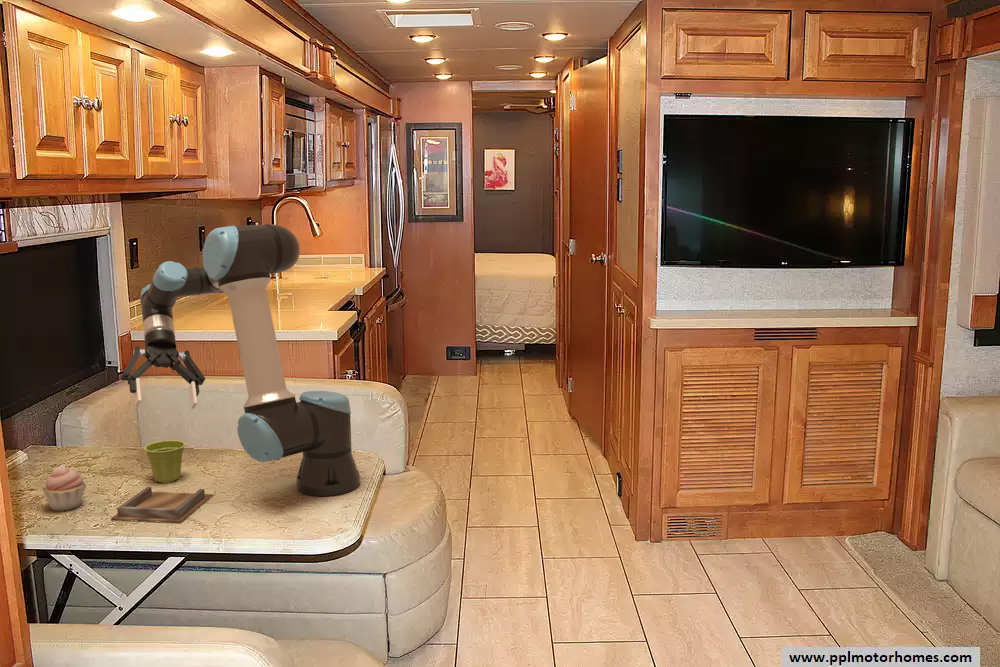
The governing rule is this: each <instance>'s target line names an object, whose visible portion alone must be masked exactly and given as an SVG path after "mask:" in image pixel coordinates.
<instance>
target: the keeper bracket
mask: <svg viewBox="0 0 1000 667" xmlns="http://www.w3.org/2000/svg"><path fill="white" fill-rule="evenodd" d="M213 495H214V493H206V492H205V488H200V489H198V490H197V491H196V492H194V493H191V492H171V491H170V492H169V491H168V492H167V491H166V492H163V491H152V486H146V487H145V488H143V489H142V490H140V491H139V492H138V493H136V494H135V495H134V496H132V497H131V498H129V499H128V500H126V501H125V502H123V503H122V504H121V505H119V506H118V507H117V508H116V511H117V513H116V514H115V515H113V516H112V517H111V518H110V520H111V521H115V520H116V522H118V521H117V520H129V521H128V522H132V521H131V520H137V521H136V522H138V521H159V522H158V523H160V522H171V523H170V524H182V523H183V522H184V521H185V520H186V519H187V517H188V516H189V515H190V514H191V513H192V514H193V512H194V511H195V510H196V509H197V508H198V509H200V508H201V507H202V506H203V505H204V504H205V503H206V501H207V500H208V499H209V498H210V497H211V496H212V497H214V496H213ZM212 497H211V498H212ZM211 498H210V499H211ZM210 499H209V500H210ZM209 500H208V501H209ZM208 501H207V502H208ZM204 502H205V503H204ZM203 503H204V504H203ZM202 504H203V505H202ZM201 505H202V506H201ZM200 506H201V507H200ZM198 509H197V510H198ZM197 510H196V511H197ZM196 511H195V512H196ZM195 512H194V513H195ZM192 514H191V515H192ZM191 515H190V516H191ZM190 516H189V517H190ZM189 517H188V518H189ZM181 522H182V523H181Z"/></svg>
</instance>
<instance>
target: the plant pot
mask: <svg viewBox="0 0 1000 667" xmlns="http://www.w3.org/2000/svg"><path fill="white" fill-rule="evenodd" d="M185 447H186V443H185V442H184V441H181V440H176V439H175V440H173V439H172V440H171V439H170V440H160V441H159V440H158V441H156V442H152V443H149V444H147V445H145V446H144V447H143V448H144V451H145V452H146V456H147V457H148V459H149V462H150V463H149V464H150V467H151V471H152V477H153V481H154V482H155V483H156V482H159V483H160V482H161V483H163V484H165V483H173V482H174V481H175V480H179V479H180V478H181V474H182V461H183V460H182V458H183V452H184V448H185Z"/></svg>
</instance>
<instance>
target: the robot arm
mask: <svg viewBox="0 0 1000 667" xmlns="http://www.w3.org/2000/svg"><path fill="white" fill-rule="evenodd" d="M300 247H301V246H300V243H299V240H298V238H297V237H296V236H295V234H294V233H293V232H292V231H291V230H290V229H288V228H286V227H284V226H282V225H280V224H279V225H278V224H273V223H271V224H270V223H269V224H267V223H266V224H251V225H250V224H249V225H248V224H247V225H242V224H241V225H230V226H229V225H228V226H222V227H217V228H214V229H213V230H211V231H210V232H209V233H208V235H207V237H206V239H205V241H204V244H203V248H202V264H203V265H202V266H197V267H194V266H192V267H185V266H184V265H183V264H182V263H180V262H175V261H171V260H168V261H165V262H162V263H161V264H159V267H157V269H156V271H155V272H154V274H153V276H152V279H151V283H150V284H147V285H145V287H143V288H142V289H141V292H140V301H139V302H140V307H141V315H142V316H141V317H142V326H143V337H144V347H145V349H144V348H143V349H141V347H140V346H135V347H134V349H133V351H132V353H131V354H132V357H131V359H130V360H129V362H128V363H127V365H126V367H125V369H124V371H123V372H122V374H121V377H120V380H121V381H122V382H123V381H127V384H128V386H129V392H130V394H133V395H134V406H135V407H140V406H139V405H140V404H141V402H142V392H141V382H140V381H141V379H140V376H142V375H143V374H145V372H146V371H147V370H148V369H150V368H151V367H152V366H154V367H155V368H167V369H171V370H172V371H175V372H176V373H177V374H178V375H179V376H180V377H182V379H184V380H185V381H186V382H187V383H188V384H189V386H188V394H189V401H190V409H195V408H196V407H197V405H198V396H199V394H200V386H202V385H203V384H204V382H205V380H206V377H205V375H204V374H203V373H202V372H201V370H200V368H199V367H198V365H197V364H196V363H195V361H194V360H193V358H192V357H191V353H190V351H189V350H184V351H183V352H179V351H178V350H177V342H176V341H177V340H176V335H175V333H176V332H175V325H174V324H175V323H174V318H173V317H174V315H173V307H174V306H175V305H176V302H177V300H178V299H179V298H182V297H183V298H184V297H191V296H192V297H194V296H199V295H200V296H201V295H209V294H211V295H212V294H223V293H225V294H226V295H227V298H228V303H229V308H230V311H231V317H232V322H233V327H234V331H235V337H236V341H237V347H238V352H239V356H240V361H241V366H242V371H243V376H244V381H245V387H246V391H247V395H248V397H247V400H246V402H245V403H244V404H243V410H244V413H242V415H241V416H240V417H239V418H238V421H237V424H238V425H237V434H238V435H237V436H238V438H239V441H240V442H239V443H240V444H241V447H243V449H244V450H245V453H246V454H248V456H250V457H251V458H252V459H253V460H255V461H257V462H258V463H267V462H272V461H279V460H281V459H283V458H287V457H291V456H294V455H298V454H301V453H302V458H301V461H300V466H299V469H298V473H297V476H296V489H297V491H299V492H300V493H301V494H304V495H308V496H315V497H329V496H330V497H333V496H339V495H344V494H347V493H350V492H352V491H354V490H356V489H357V488H358V487H360V485H361V476H360V472H359V470H358V468H357V464H356V462H355V459H354V456H353V453H352V432H351V431H352V430H351V429H352V428H351V414H352V412H351V405H350V399H349V398H348V396H346V395H345V394H343V393H339V392H334V391H328V390H327V391H325V390H312V391H311V390H310V391H304V392H301V394H300V395H299V398H298V400H299V401H298V402H297V400H296V394H294V393H292V392H291V391H289V390H288V389H287V384H286V379H285V375H284V369H283V365H282V359H281V355H280V350H279V344H278V341H277V335H276V330H275V326H274V320H273V316H272V311H271V307H270V301H269V296H268V292H267V287H268V286H269V284H270V282H271V281H272V277H271V275H272V274H273V275H276V274H279V273H280V274H281V273H282V272H285V271H288V270H290V269H292V268H293V267H294V266H295V265H296V264H297V262H298V260H299V258H300V254H301V248H300ZM142 356H144V358H146V360H145V361H144V362H143V363H142V364H141V365H140V366H139V367H138V368H137V369H136V370H135V371H134V372H133V373H131V371H132V370H133V367H135V364H136V362H137V361H138V359H140V358H142ZM181 362H183V363H181Z"/></svg>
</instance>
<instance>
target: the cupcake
mask: <svg viewBox="0 0 1000 667" xmlns="http://www.w3.org/2000/svg"><path fill="white" fill-rule="evenodd" d="M87 485H88V483H86V480H84V476H82V474H80V473H78V471H76V470H75V469H72V468H68V467H66V465H65V464H64V463H63V464H61V465H59V466H57V467H55V468H54V469H53V470H52V471H51V474H50V475H49V476H48V477H47V478H46V481H45V486H44V487H42V488H41V491H42V493H43V494H44V496H45V498H46V500H47V503H48V505H49V508H50V509H51V510H52V511H55V512H56V511H57V512H63V511H69V510H73V509H76V508H78V507H80V505H81V504H82V500H83V495H84V491H85V489H86V487H87Z"/></svg>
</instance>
